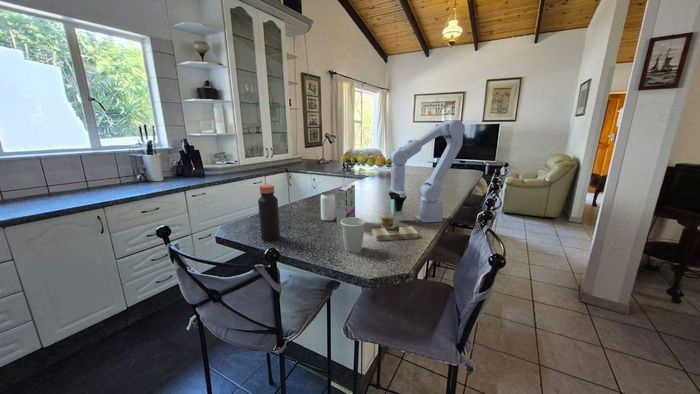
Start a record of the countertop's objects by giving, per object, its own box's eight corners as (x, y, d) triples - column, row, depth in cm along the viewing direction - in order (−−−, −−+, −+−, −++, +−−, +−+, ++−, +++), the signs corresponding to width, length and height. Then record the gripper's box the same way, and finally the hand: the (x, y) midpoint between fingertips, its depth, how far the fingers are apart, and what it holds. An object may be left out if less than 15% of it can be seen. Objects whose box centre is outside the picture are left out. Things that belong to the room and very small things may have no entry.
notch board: (411, 231, 109) (411, 226, 109) (417, 237, 103) (418, 232, 102) (371, 233, 107) (372, 228, 107) (376, 240, 100) (376, 235, 100)
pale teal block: (399, 211, 123) (399, 198, 121) (402, 214, 119) (402, 201, 118) (390, 212, 122) (391, 199, 121) (393, 215, 118) (393, 201, 117)
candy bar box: (344, 219, 124) (344, 183, 120) (355, 220, 122) (355, 184, 118) (335, 227, 113) (335, 189, 109) (347, 229, 112) (346, 190, 108)
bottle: (257, 240, 101) (252, 187, 96) (269, 233, 107) (265, 183, 102) (272, 243, 99) (268, 188, 94) (283, 236, 105) (280, 185, 100)
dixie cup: (356, 241, 99) (356, 215, 97) (370, 250, 92) (370, 222, 90) (336, 247, 95) (336, 219, 92) (349, 256, 88) (349, 227, 86)
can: (333, 221, 121) (332, 195, 118) (319, 220, 122) (318, 194, 119) (336, 217, 127) (336, 192, 124) (323, 216, 128) (322, 191, 125)
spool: (392, 224, 117) (392, 213, 116) (396, 229, 112) (397, 217, 110) (378, 225, 116) (378, 213, 115) (382, 230, 111) (382, 218, 109)
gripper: (384, 176, 123) (383, 205, 127) (393, 182, 109) (393, 215, 113) (399, 175, 124) (398, 204, 128) (410, 181, 110) (409, 214, 114)
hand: (396, 209), depth 120 cm, fingers closed on pale teal block, 4 cm apart
